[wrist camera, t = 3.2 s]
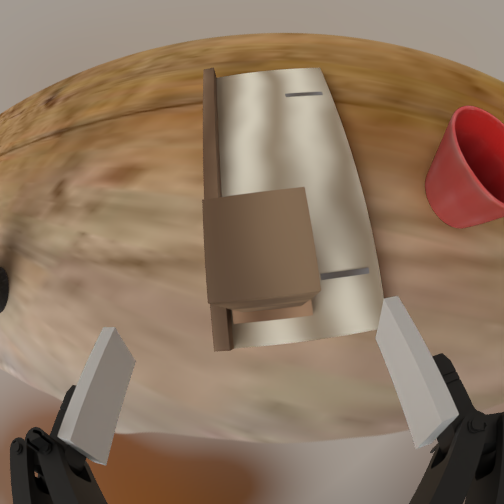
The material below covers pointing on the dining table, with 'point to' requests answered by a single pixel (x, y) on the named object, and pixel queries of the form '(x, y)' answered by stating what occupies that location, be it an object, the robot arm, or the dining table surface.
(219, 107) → the birch board
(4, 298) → the travel mug
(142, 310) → the dining table surface
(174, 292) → the dining table surface
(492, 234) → the dining table surface
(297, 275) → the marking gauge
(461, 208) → the flower pot
